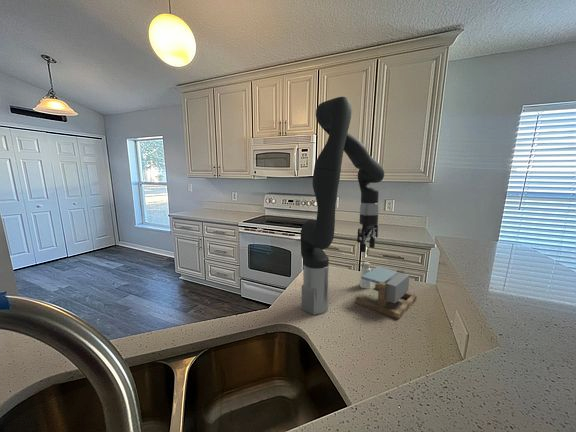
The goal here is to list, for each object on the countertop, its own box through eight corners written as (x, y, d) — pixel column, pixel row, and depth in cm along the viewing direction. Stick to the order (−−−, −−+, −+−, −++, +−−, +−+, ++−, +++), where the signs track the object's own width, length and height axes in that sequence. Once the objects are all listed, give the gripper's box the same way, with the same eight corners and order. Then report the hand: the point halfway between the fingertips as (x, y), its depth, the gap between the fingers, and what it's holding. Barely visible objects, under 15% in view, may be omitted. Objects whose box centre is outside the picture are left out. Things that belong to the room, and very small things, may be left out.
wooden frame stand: (398, 319, 84) (400, 289, 82) (355, 302, 96) (356, 276, 94) (416, 299, 97) (418, 273, 96) (376, 287, 109) (377, 263, 107)
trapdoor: (394, 303, 87) (395, 286, 86) (361, 291, 96) (361, 275, 95) (408, 290, 97) (409, 274, 96) (376, 281, 106) (377, 266, 105)
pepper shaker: (359, 288, 108) (360, 264, 106) (359, 283, 113) (360, 260, 111) (372, 289, 107) (373, 265, 105) (371, 284, 112) (372, 261, 110)
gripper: (368, 210, 112) (367, 244, 115) (352, 214, 102) (351, 251, 105) (384, 212, 107) (382, 247, 110) (369, 216, 97) (367, 255, 100)
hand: (367, 249), depth 107 cm, fingers open, 8 cm apart
